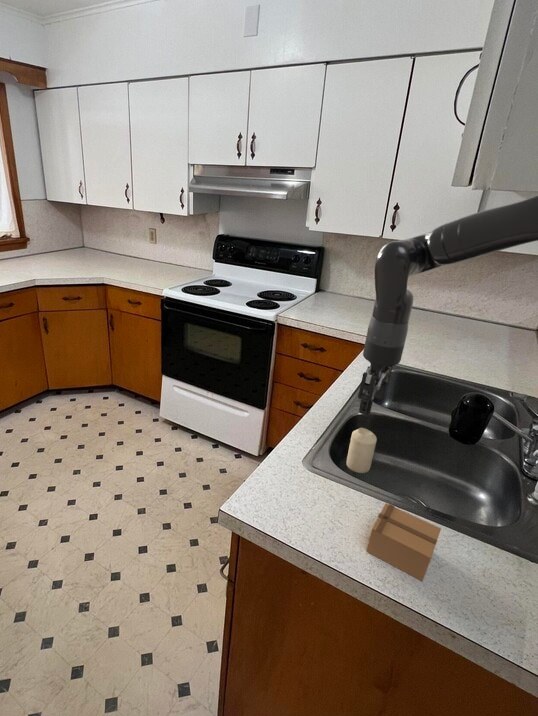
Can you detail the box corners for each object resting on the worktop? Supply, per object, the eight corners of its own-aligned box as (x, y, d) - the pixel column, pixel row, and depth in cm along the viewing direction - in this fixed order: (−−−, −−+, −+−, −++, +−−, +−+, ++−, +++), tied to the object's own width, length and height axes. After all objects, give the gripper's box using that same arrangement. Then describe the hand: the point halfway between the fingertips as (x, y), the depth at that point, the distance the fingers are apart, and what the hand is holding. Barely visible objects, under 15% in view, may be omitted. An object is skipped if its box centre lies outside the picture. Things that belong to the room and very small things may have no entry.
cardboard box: (433, 551, 80) (441, 527, 77) (422, 582, 74) (431, 557, 72) (379, 524, 86) (385, 502, 83) (365, 551, 80) (371, 527, 77)
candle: (374, 466, 101) (382, 432, 97) (361, 476, 98) (369, 441, 94) (354, 455, 105) (361, 421, 101) (341, 464, 102) (348, 429, 98)
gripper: (393, 355, 80) (377, 425, 87) (413, 332, 91) (397, 397, 98) (355, 344, 84) (342, 412, 91) (378, 324, 95) (365, 387, 102)
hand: (370, 405), depth 94 cm, fingers open, 8 cm apart
